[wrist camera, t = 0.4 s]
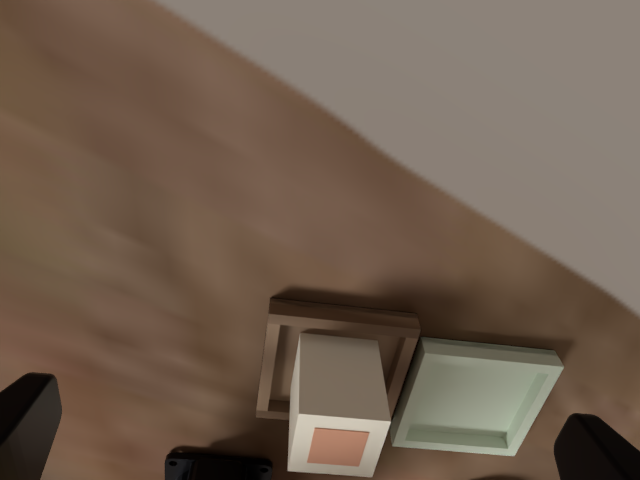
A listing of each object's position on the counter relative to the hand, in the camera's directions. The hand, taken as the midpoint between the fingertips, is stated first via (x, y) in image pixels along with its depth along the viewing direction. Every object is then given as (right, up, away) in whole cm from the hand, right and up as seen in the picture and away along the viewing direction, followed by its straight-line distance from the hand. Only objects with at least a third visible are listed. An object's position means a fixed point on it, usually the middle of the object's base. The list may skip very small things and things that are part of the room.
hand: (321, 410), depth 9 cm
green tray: (+8, -6, +20) cm, 22 cm away
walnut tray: (+1, -3, +18) cm, 19 cm away
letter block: (+1, -4, +18) cm, 19 cm away
